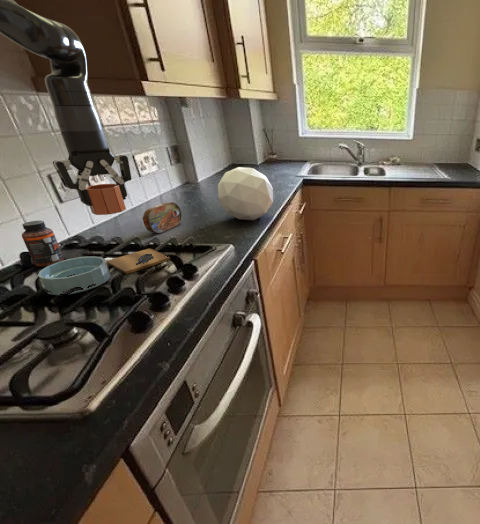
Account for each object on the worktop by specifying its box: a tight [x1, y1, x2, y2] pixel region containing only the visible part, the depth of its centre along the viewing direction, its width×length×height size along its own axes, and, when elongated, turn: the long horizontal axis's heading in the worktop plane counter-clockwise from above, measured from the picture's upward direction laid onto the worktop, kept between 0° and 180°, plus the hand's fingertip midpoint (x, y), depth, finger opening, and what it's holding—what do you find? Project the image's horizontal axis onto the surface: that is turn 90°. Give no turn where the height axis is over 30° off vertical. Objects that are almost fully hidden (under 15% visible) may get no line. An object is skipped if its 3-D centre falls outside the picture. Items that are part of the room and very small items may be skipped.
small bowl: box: [85, 183, 127, 216], centre depth 80 cm, size 6×6×6 cm
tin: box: [142, 201, 182, 234], centre depth 113 cm, size 15×3×8 cm, turn 171°
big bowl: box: [37, 255, 111, 296], centre depth 78 cm, size 12×12×4 cm
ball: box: [217, 166, 274, 221], centre depth 123 cm, size 19×20×20 cm
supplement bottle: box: [21, 220, 65, 268], centre depth 86 cm, size 6×6×11 cm
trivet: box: [106, 248, 171, 275], centre depth 90 cm, size 11×11×1 cm
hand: (106, 202), depth 80 cm, fingers closed on small bowl, 6 cm apart
